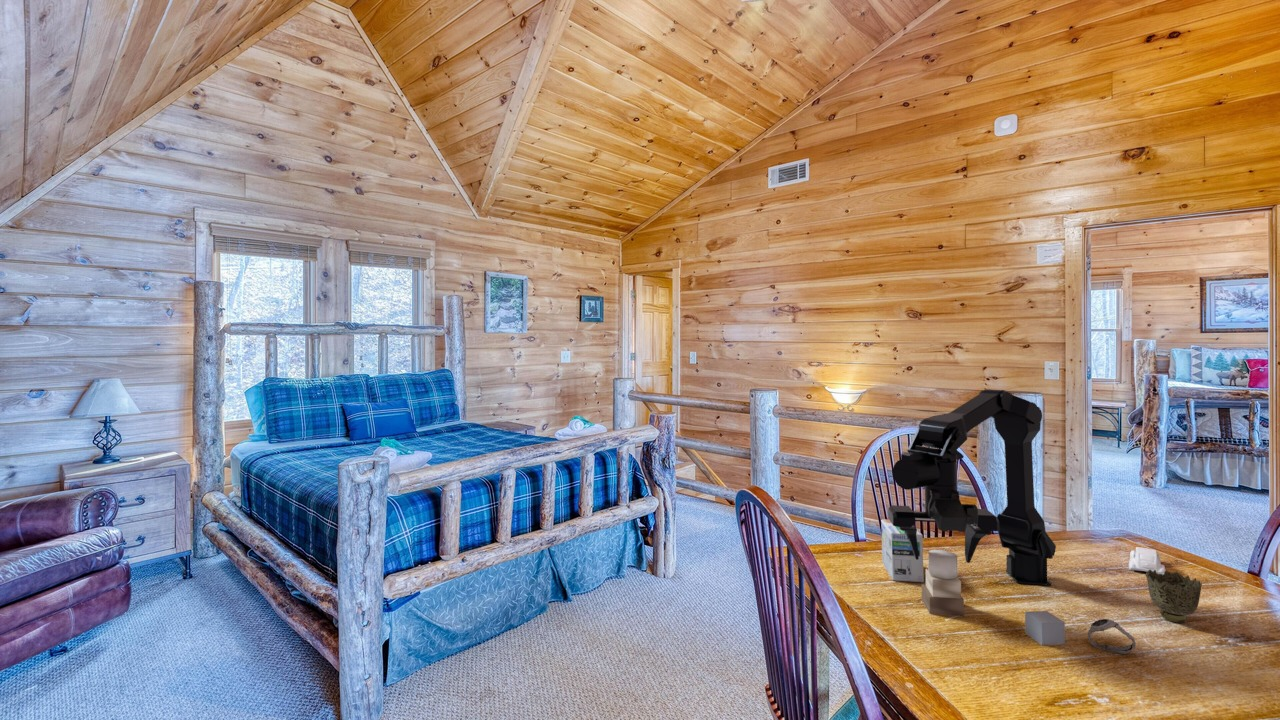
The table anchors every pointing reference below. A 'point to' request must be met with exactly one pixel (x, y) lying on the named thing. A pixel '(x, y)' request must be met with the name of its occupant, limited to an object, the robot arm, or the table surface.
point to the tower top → (943, 586)
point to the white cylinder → (943, 564)
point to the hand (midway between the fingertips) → (942, 560)
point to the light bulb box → (901, 554)
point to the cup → (1174, 594)
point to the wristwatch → (1102, 626)
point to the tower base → (942, 604)
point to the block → (1045, 628)
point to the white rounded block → (1145, 560)
